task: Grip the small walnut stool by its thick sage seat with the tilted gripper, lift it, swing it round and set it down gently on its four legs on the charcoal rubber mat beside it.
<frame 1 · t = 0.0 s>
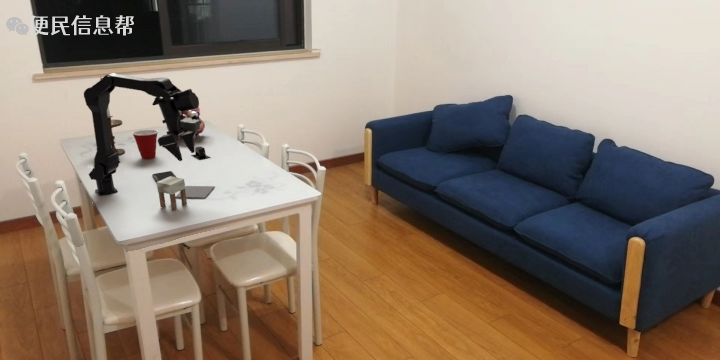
hand: (187, 156, 199), 15 cm above the table, tool pointing down, fingers open, 9 cm apart
mat: (195, 192, 208), on the table
candlestick: (114, 154, 255), on the table
stool: (173, 205, 197), on the table
ornament: (186, 138, 277), on the table
phone: (166, 181, 222), on the table
plastic cup: (149, 157, 249), on the table
black brimmed piece: (200, 158, 250), on the table
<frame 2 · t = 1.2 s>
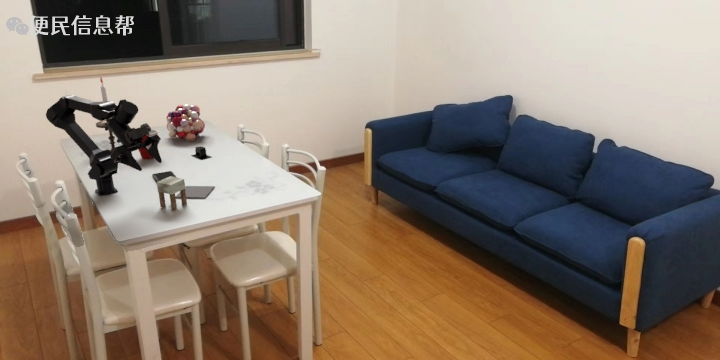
hand: (151, 166, 195), 14 cm above the table, tool tilted 45°, fingers open, 9 cm apart
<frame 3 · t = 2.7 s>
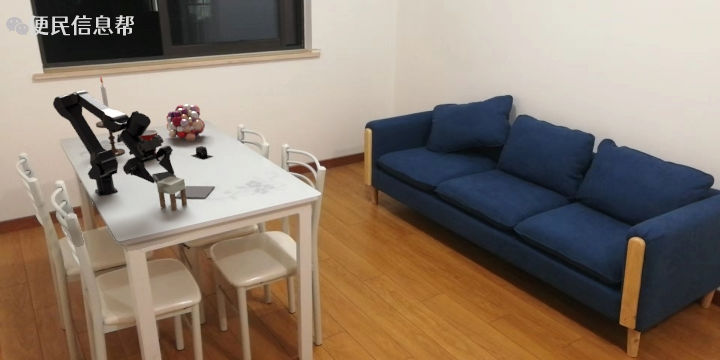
hand: (163, 177, 194), 10 cm above the table, tool tilted 45°, fingers open, 9 cm apart
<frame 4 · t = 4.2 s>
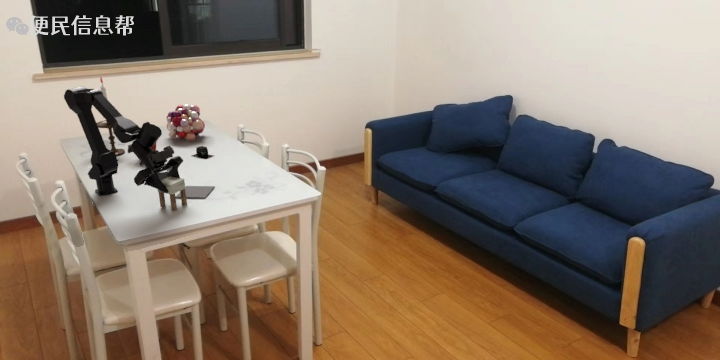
hand: (174, 189, 194), 7 cm above the table, tool tilted 45°, fingers closed on stool, 6 cm apart
stool: (174, 205, 197), on the table, touching gripper
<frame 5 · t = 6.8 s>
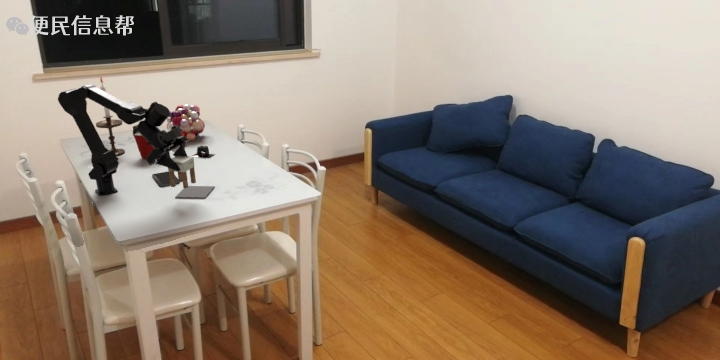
hand: (184, 167, 197), 12 cm above the table, tool tilted 45°, fingers closed on stool, 6 cm apart
stool: (183, 184, 200), point 6 cm above the table, touching gripper
when the fingers open (8 cm above the table, at t = 9.5 s): stool stays where it is, resting on mat.
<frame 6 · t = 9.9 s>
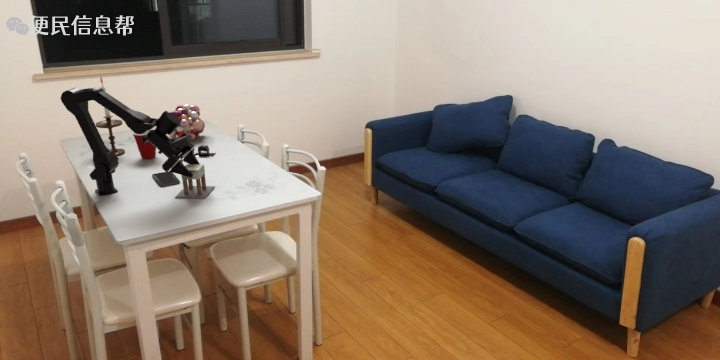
hand: (196, 172, 205), 8 cm above the table, tool tilted 45°, fingers open, 9 cm apart
stool: (195, 191, 208), resting on mat
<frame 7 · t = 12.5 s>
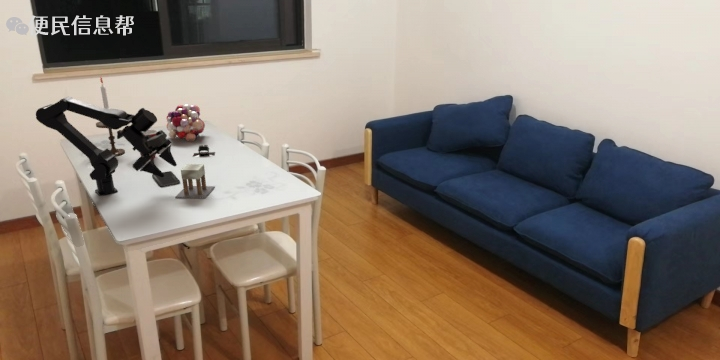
hand: (169, 171, 206), 8 cm above the table, tool tilted 40°, fingers open, 9 cm apart
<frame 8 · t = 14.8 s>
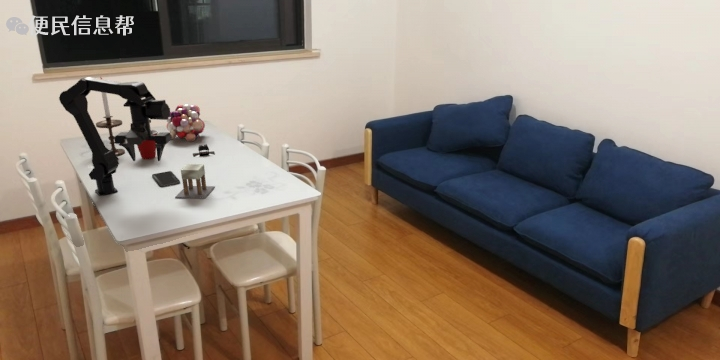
hand: (146, 160, 203), 13 cm above the table, tool pointing down, fingers open, 9 cm apart
at the end: stool 0.1 cm off-centre on the mat, point 0.5 cm above the mat's base; stool tilted 0°; the gripper is holding nothing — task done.
